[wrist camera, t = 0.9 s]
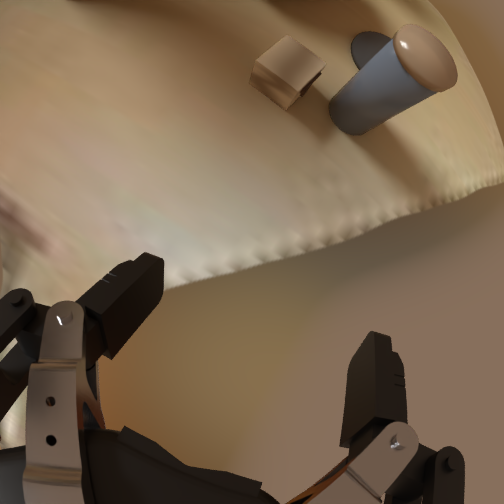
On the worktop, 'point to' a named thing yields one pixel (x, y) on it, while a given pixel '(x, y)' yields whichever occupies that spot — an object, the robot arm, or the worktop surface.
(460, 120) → the worktop surface
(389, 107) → the canister
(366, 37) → the coaster
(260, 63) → the t block
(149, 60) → the worktop surface
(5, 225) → the worktop surface
